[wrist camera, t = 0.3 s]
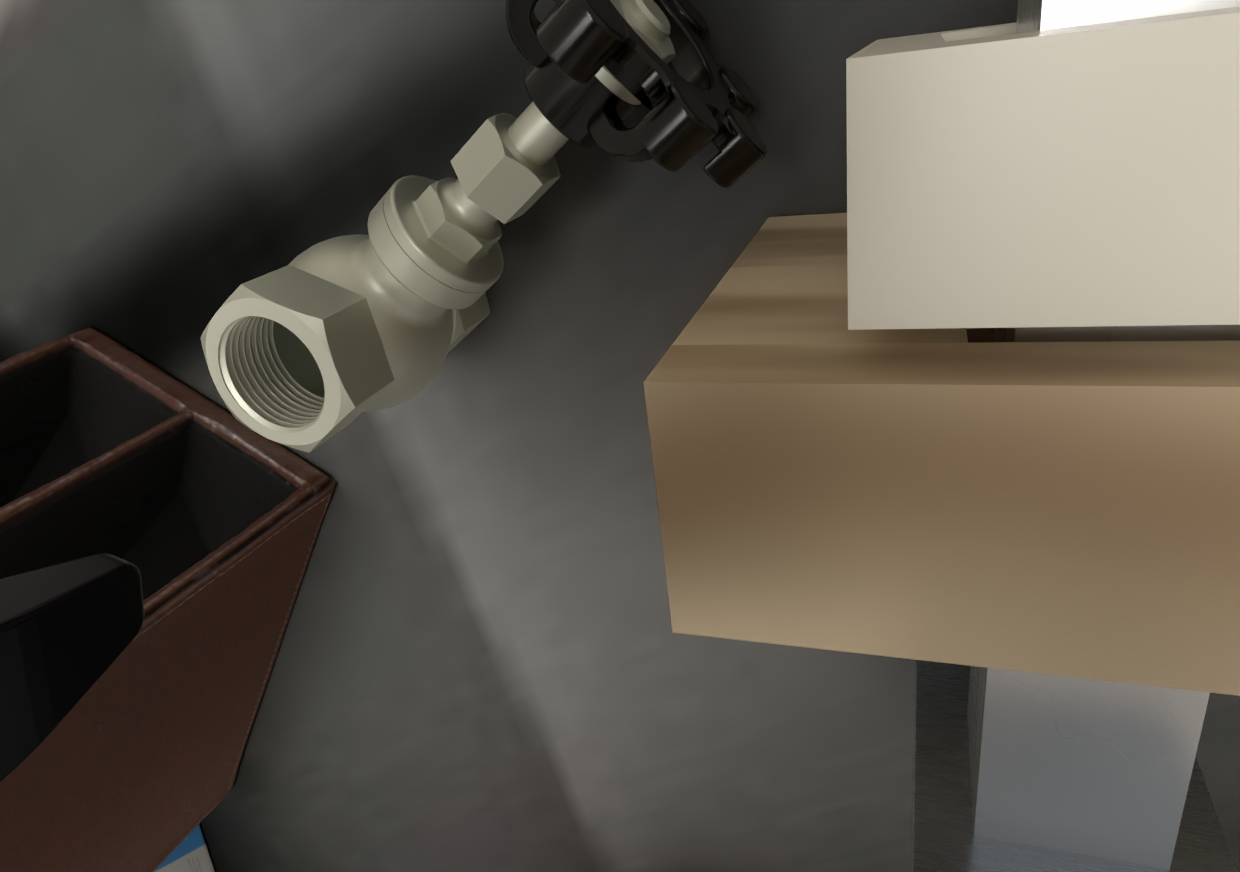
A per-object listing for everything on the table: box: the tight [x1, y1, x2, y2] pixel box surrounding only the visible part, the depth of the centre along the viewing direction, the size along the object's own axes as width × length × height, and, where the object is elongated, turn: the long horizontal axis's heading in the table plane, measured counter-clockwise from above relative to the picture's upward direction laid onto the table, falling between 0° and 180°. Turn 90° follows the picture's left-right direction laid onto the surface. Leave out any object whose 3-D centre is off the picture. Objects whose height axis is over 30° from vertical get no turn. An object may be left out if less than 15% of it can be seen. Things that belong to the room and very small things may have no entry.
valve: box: [201, 0, 767, 453], centre depth 18 cm, size 7×7×12 cm
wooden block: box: [643, 213, 1240, 696], centre depth 14 cm, size 4×12×10 cm, turn 97°
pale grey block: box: [911, 0, 1240, 872], centre depth 12 cm, size 17×5×9 cm, turn 7°
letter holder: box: [0, 328, 336, 872], centre depth 27 cm, size 10×20×14 cm, turn 153°
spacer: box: [846, 7, 1240, 330], centre depth 11 cm, size 3×7×6 cm, turn 97°
